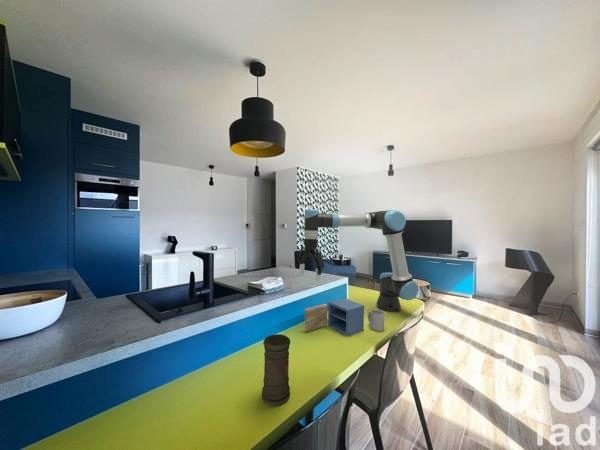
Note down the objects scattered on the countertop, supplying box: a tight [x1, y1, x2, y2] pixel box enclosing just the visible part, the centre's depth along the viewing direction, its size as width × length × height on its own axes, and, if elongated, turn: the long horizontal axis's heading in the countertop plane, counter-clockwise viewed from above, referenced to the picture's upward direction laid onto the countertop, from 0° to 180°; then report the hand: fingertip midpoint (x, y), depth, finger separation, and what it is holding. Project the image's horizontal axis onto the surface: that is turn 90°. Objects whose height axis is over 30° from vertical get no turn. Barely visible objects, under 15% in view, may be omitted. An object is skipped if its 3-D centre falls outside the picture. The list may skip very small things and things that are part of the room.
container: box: [261, 333, 291, 407], centre depth 77 cm, size 9×9×18 cm
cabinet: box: [327, 298, 365, 337], centre depth 127 cm, size 12×14×13 cm
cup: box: [367, 308, 385, 333], centre depth 129 cm, size 7×10×9 cm
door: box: [303, 303, 329, 332], centre depth 125 cm, size 1×15×11 cm, turn 126°
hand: (309, 278), depth 129 cm, fingers open, 13 cm apart
